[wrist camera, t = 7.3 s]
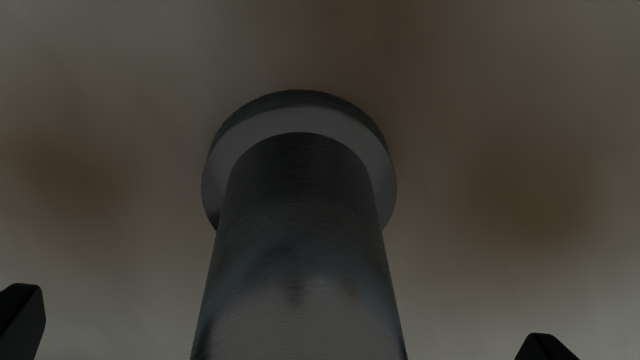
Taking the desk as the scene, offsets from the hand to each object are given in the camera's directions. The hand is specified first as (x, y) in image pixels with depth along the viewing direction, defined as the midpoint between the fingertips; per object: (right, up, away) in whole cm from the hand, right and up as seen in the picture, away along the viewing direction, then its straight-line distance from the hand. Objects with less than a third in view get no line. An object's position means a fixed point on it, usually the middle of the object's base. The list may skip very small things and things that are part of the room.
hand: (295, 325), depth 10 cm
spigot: (0, +3, +4) cm, 5 cm away
